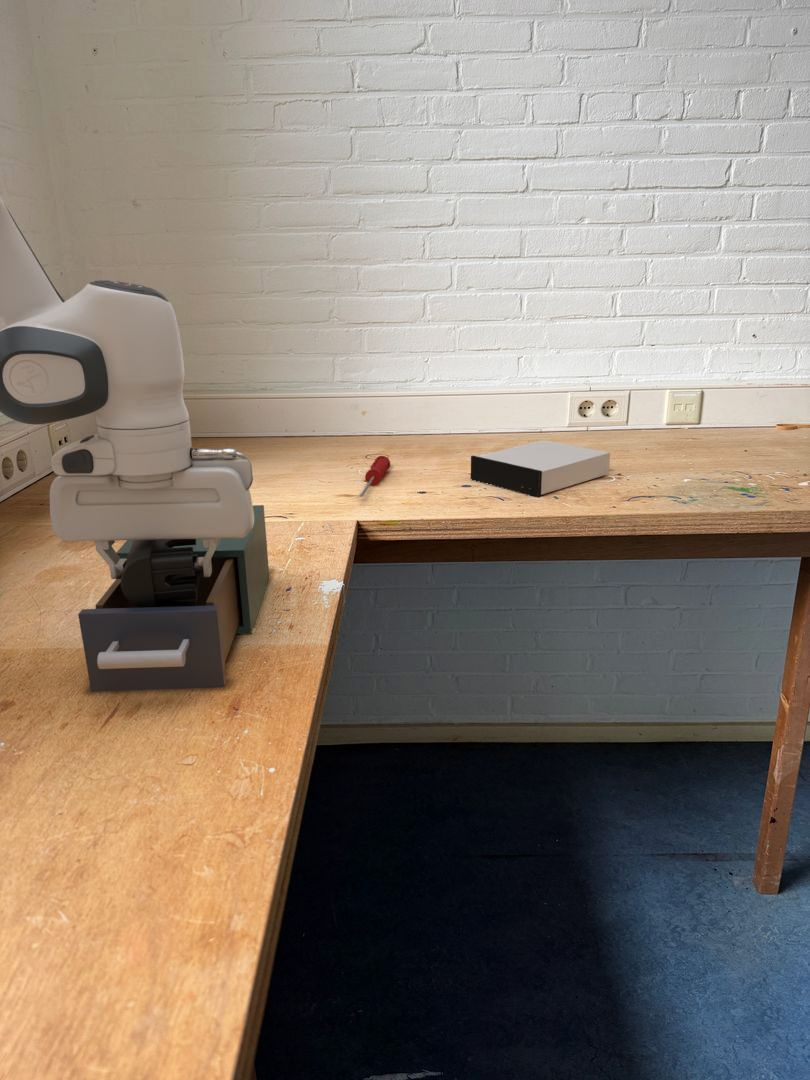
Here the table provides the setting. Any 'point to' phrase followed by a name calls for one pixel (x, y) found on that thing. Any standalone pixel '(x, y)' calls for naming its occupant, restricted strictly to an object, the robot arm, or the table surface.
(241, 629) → the cabinet
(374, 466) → the screwdriver
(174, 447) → the robot arm
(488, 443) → the table surface
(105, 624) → the drawer
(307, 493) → the table surface
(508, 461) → the disc drive
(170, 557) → the end cap
